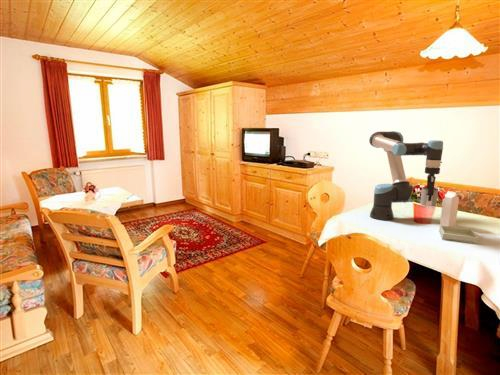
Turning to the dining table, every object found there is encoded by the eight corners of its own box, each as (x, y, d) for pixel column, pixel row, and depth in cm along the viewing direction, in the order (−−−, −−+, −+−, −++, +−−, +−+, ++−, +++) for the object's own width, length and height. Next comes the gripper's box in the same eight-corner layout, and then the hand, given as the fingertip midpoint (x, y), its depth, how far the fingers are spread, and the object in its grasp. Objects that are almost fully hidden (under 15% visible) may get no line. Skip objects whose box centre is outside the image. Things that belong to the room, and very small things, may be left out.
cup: (438, 206, 173) (440, 190, 171) (423, 206, 175) (425, 189, 173) (432, 203, 181) (434, 187, 179) (418, 202, 183) (420, 186, 181)
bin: (442, 239, 164) (442, 233, 163) (439, 230, 178) (439, 225, 177) (477, 244, 157) (478, 237, 156) (471, 234, 171) (472, 229, 170)
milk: (448, 227, 185) (452, 193, 181) (439, 224, 191) (443, 191, 186) (455, 226, 186) (459, 192, 182) (446, 223, 192) (450, 190, 188)
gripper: (442, 169, 162) (437, 209, 167) (438, 165, 181) (433, 200, 185) (426, 168, 166) (421, 207, 170) (424, 164, 184) (420, 199, 189)
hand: (428, 204), depth 178 cm, fingers closed on cup, 8 cm apart
